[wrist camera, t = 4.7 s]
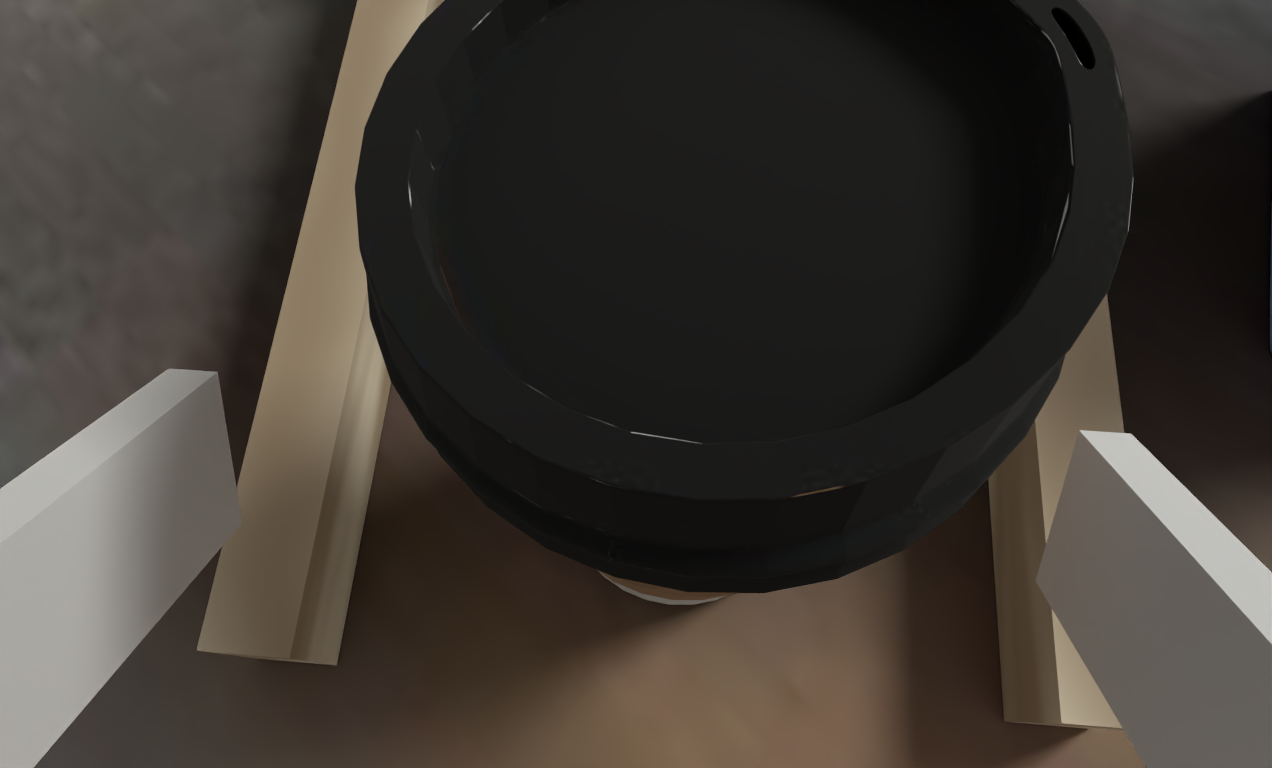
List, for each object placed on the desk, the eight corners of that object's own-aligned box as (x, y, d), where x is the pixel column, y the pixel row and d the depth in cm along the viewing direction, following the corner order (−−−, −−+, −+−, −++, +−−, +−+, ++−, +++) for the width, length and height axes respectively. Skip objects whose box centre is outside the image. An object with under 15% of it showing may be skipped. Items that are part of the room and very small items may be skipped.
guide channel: (1014, -45, 29) (1069, -158, 25) (1090, 728, 20) (1190, 732, 17) (420, -77, 30) (388, -192, 26) (255, 658, 21) (172, 647, 17)
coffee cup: (892, 601, 21) (1362, 393, 7) (562, 704, 21) (391, 688, 7) (777, 307, 24) (960, -244, 10) (484, 387, 24) (249, -90, 10)
